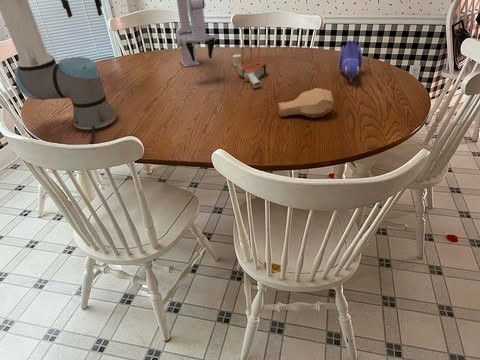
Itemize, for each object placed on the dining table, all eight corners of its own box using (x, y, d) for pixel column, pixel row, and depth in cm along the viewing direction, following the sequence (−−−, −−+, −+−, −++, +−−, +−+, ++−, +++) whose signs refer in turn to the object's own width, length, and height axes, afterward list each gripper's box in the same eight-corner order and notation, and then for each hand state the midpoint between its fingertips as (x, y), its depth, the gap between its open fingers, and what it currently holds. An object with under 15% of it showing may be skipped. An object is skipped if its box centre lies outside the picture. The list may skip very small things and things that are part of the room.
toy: (337, 76, 168) (339, 86, 146) (339, 39, 162) (341, 42, 139) (359, 76, 166) (364, 85, 144) (361, 37, 159) (367, 41, 137)
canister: (235, 63, 180) (234, 54, 178) (242, 64, 179) (242, 54, 176) (231, 66, 177) (231, 56, 175) (239, 66, 176) (238, 57, 173)
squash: (337, 118, 126) (338, 97, 119) (281, 128, 127) (279, 108, 121) (330, 101, 133) (330, 80, 127) (277, 111, 135) (275, 90, 128)
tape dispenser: (257, 93, 151) (279, 75, 164) (257, 81, 148) (279, 63, 160) (223, 84, 159) (246, 67, 171) (222, 73, 155) (246, 57, 168)
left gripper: (102, -43, 147) (115, 12, 159) (43, -40, 148) (61, 15, 160) (96, -42, 141) (110, 16, 153) (35, -38, 142) (54, 19, 154)
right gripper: (183, 30, 143) (187, 64, 151) (217, 26, 147) (220, 59, 155) (179, 27, 149) (184, 59, 157) (212, 22, 152) (215, 54, 160)
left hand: (85, 16), depth 157 cm, fingers open, 13 cm apart
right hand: (201, 59), depth 156 cm, fingers open, 7 cm apart
